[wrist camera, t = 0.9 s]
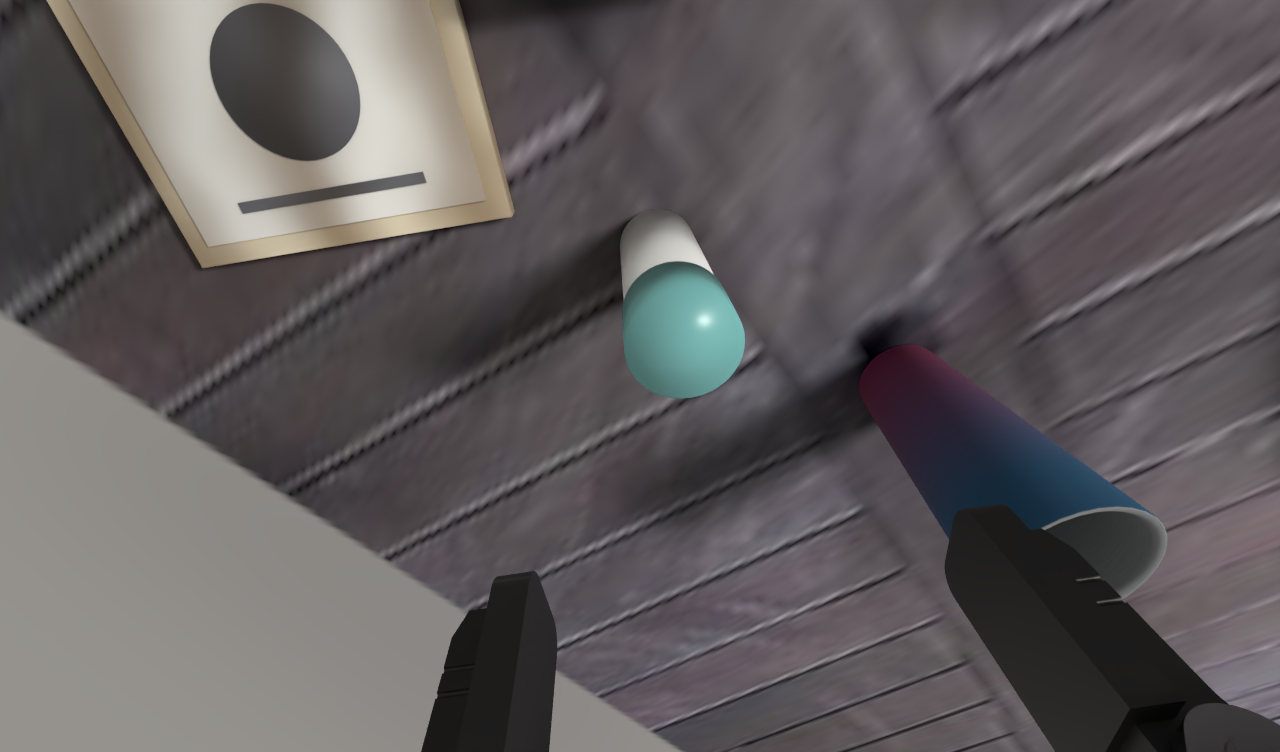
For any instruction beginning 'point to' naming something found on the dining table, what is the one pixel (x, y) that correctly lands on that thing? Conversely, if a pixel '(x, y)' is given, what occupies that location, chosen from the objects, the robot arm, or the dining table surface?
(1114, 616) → the robot arm
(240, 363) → the dining table surface
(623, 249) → the marker
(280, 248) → the paper board
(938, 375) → the cup
